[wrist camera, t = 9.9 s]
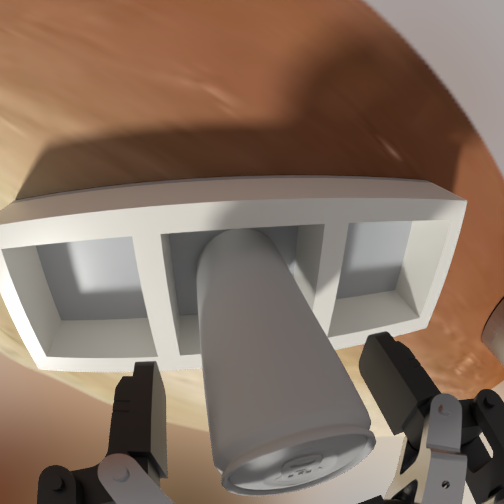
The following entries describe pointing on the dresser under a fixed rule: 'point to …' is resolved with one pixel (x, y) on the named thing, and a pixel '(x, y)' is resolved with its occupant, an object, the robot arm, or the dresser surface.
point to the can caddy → (191, 246)
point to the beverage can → (271, 374)
